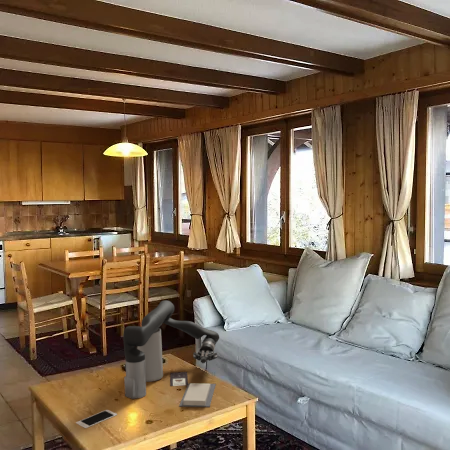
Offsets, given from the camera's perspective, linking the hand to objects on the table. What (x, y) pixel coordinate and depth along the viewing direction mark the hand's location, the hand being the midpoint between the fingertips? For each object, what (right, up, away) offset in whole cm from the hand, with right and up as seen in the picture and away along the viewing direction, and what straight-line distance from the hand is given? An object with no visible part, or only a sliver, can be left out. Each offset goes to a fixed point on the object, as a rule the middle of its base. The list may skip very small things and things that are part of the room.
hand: (203, 361), depth 248 cm
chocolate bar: (-13, -12, +9) cm, 20 cm away
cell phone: (-44, -16, -34) cm, 58 cm away
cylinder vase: (-28, -12, +12) cm, 32 cm away
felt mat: (-2, -13, -11) cm, 17 cm away
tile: (-1, -11, -5) cm, 12 cm away
